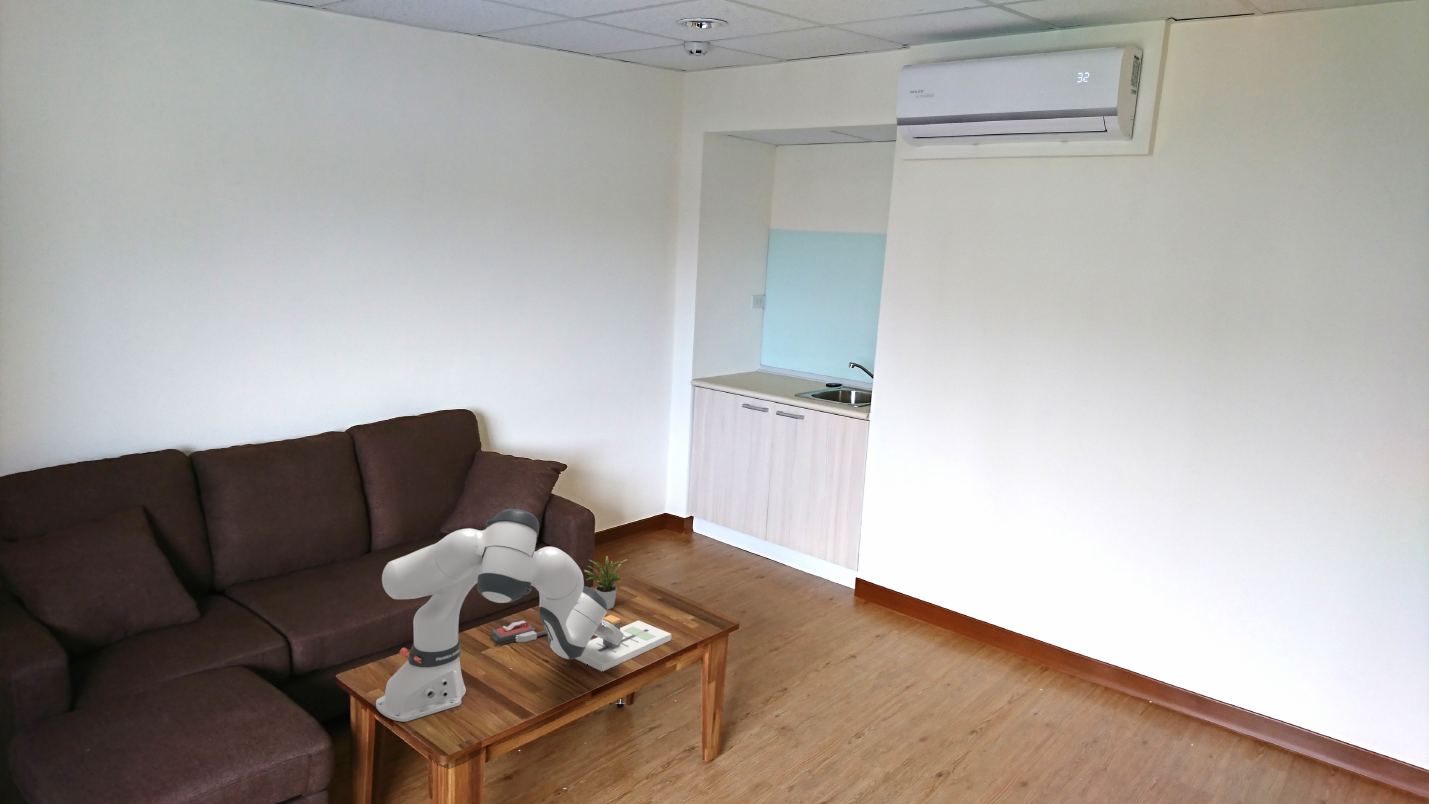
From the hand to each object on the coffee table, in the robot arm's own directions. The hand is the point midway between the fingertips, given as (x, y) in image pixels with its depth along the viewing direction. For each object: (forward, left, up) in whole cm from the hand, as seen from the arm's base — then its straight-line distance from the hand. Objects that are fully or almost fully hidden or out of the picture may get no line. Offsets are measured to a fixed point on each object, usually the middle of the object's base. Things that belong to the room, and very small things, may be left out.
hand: (606, 637), depth 262 cm
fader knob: (+2, 0, -3) cm, 4 cm away
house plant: (+25, +26, -6) cm, 37 cm away
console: (+6, 0, -5) cm, 8 cm away
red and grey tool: (-8, +27, -6) cm, 29 cm away
